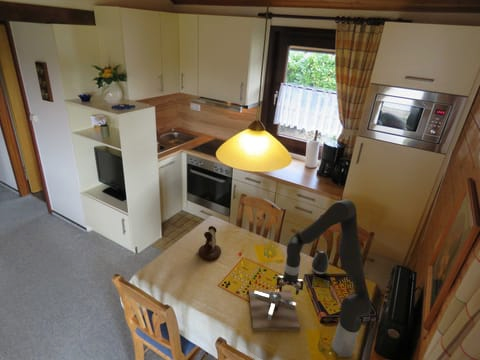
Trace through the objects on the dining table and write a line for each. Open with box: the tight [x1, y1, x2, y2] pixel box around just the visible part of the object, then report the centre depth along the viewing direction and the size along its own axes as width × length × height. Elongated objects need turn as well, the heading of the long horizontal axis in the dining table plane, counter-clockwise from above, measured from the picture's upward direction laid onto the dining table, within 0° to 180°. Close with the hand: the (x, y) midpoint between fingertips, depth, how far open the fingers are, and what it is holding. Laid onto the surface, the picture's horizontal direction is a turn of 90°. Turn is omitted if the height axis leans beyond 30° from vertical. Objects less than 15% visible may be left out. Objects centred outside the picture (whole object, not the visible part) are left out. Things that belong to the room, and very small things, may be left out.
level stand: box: [248, 289, 302, 331], centre depth 164 cm, size 24×24×2 cm
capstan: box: [254, 285, 297, 320], centre depth 161 cm, size 22×22×8 cm
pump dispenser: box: [311, 249, 330, 275], centre depth 190 cm, size 10×10×15 cm
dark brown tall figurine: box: [198, 225, 222, 261], centre depth 197 cm, size 15×15×20 cm
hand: (288, 292), depth 168 cm, fingers open, 8 cm apart
